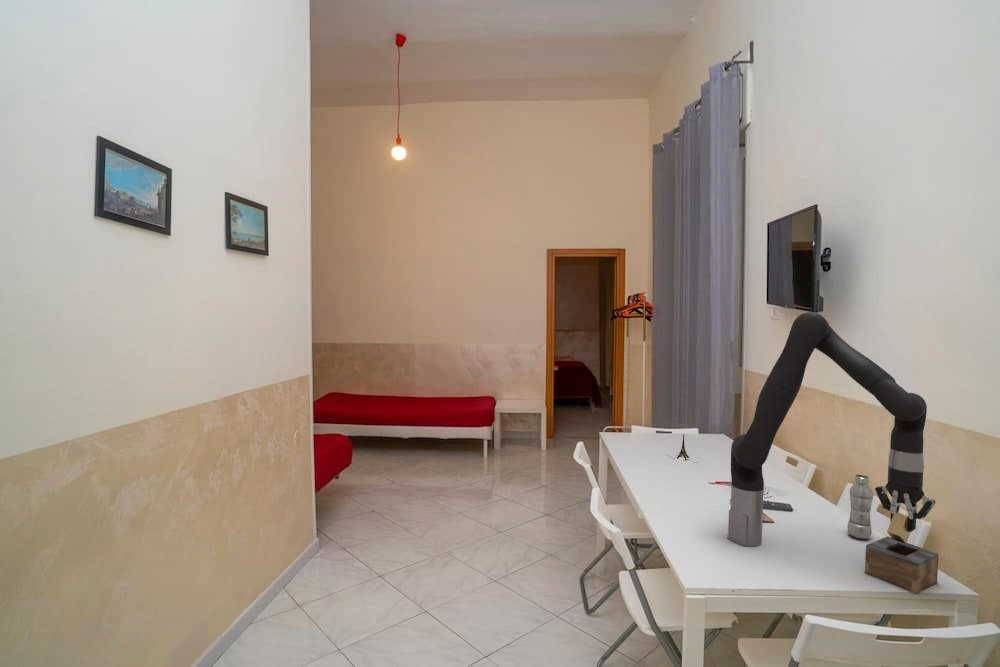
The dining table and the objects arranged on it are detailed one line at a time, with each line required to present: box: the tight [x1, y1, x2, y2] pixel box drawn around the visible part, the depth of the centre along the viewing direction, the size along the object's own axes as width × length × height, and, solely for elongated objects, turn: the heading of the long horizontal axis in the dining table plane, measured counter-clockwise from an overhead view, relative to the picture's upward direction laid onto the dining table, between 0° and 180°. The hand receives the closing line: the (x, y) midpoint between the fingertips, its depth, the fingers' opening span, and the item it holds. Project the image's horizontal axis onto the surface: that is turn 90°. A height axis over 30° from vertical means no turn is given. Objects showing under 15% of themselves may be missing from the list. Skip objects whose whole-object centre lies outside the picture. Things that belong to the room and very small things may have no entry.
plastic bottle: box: [847, 474, 874, 540], centre depth 166 cm, size 6×7×20 cm
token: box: [886, 512, 911, 544], centre depth 140 cm, size 5×3×6 cm
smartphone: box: [762, 512, 775, 524], centre depth 184 cm, size 8×1×15 cm
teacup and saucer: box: [764, 484, 770, 495], centre depth 205 cm, size 9×8×4 cm
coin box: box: [864, 536, 940, 595], centre depth 141 cm, size 12×12×8 cm
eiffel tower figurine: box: [676, 434, 690, 461], centre depth 253 cm, size 15×10×13 cm
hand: (902, 528), depth 141 cm, fingers closed on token, 2 cm apart
